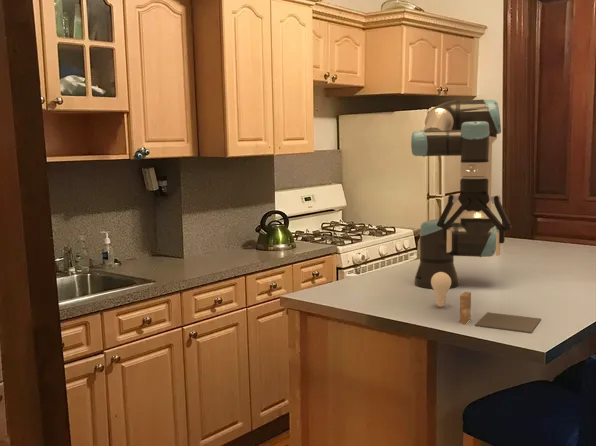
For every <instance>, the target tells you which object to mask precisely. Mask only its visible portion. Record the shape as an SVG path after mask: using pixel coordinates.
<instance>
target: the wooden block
mask: <svg viewBox="0 0 596 446" xmlns="http://www.w3.org/2000/svg"><path fill="white" fill-rule="evenodd" d="M459 297H460V298H459V300H460V301H459V324H460V323H462V324H461V325H467V324H466V323H467V322H468V321H469V320H470V321H471V317H472V314H471V313H472V309H471V308H472V304H471V303H472V292H470V291H464V293H462V294H460V296H459ZM470 321H469V322H470ZM469 322H468V323H469Z"/></svg>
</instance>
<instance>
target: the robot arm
mask: <svg viewBox="0 0 596 446" xmlns="http://www.w3.org/2000/svg"><path fill="white" fill-rule="evenodd" d="M500 116H501V115H500V108H499V103H498V101H496V100H494V99H484V98H483V99H469V100H467V99H465V100H449V101H446V102H443V103H440V104H438V105H436V106H435V107H433V108H431V109H430V111H429V112H427V114H426V116H425V119H424V128H423V129H420V130H416V131H413V132H412V133H411V139H410V140H411V141H410V143H411V144H410V146H411V155H413V156H415V157H423V158H424V157H446V156H449V157H457V156H458V157H459V156H460V170H459V171H460V177H462V178H460V180H459V183H460V184H459V185H460V186H459V189H460V190H459V195H456V194H449V195H448V199H447V204H446V206H445V207H444V209H443V211H442V213H441V215H440V217H439V218H435V219H429V220H425V221H424V222H422V223H421V224H420V229H419V230H420V231H419V237H420V238H419V248H420V249H419V265H418V268H417V270H416V274H415V277H414V285H416V286H418V287H421V288H424V289H432V290H434V289H433V287H432V285H431V279H432V277H433V275H434V274H436V273H438V272H444V273H446V274H448V275H449V277H450V278H451V286H450V288H449V289H452V288H456V287H458V286H459V277H458V273H457V270H456V267H455V264H454V257H473V258H474V257H476V258H477V257H478V258H483V257H489V258H490V257H492V256H494V255H495V256H499V255H501V244H505V240H506V239H505V238H506V237H505V235H506V233H505V232H506V231H509V230H511V229H512V228H513V226H512V223H511V221H510V219H509V217H508V215H507V214H506V210H504V208H503V205H502V203H501V196H500V194H497V195H492V168H493V167H492V163H493V162H492V160H493V159H492V158H493V157H492V156H493V143H495V141H496V140H497V137H498V135H499V134H501V133H502V126H501V125H502V124H501V117H500ZM457 201H458V202H459V203H460V204H461V205H460V206H459V207H458V208H457V210H456V211H455V212H454V214H452V216H451V217H450V218H449V217H448V216H449V213H450V212H451V211H452V208H453V206H454V204H455V203H457ZM492 204H494V207H495V209H496V211H497V213H498V215H499V217H500V219H501V221H502V222H501V221H500V220H499V219H498V217H497V216H496V215H495V214H494V213H493V212H492V209H491V208H492ZM462 214H463V215H462ZM460 216H461V217H460ZM459 217H460V222H455V221H456V220H457V219H458V218H459Z"/></svg>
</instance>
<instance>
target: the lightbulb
mask: <svg viewBox="0 0 596 446" xmlns="http://www.w3.org/2000/svg"><path fill="white" fill-rule="evenodd" d="M431 285H432V287H433V289H432V290H433V291H434V294H435V299H436V306H438V308H443V307H444V306H446V299H447V294H448V292H449V290H450V289H451V288H450V286H451V278H450V277H449V275H448V274H446V273H444V272H438V273H436V274H434V275H433V277H432V279H431Z"/></svg>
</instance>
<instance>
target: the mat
mask: <svg viewBox="0 0 596 446" xmlns="http://www.w3.org/2000/svg"><path fill="white" fill-rule="evenodd" d="M541 321H542V318H539V317H532V316H531V317H530V316H522V315H513V314H503V313H497V312H490V311H489V312H486V313H485V314H484V315H483V316H482V317H481V318H480V319H479V320H478V321H477V322H476V323H474V326H475V327H479V326H480V328H488V329H496V330H504V331H510V332H511V331H513V332H518V333H519V332H520V333H527V334H532V333H533V332H534V330H535V329H536V328H537V326H538V324H540V322H541Z"/></svg>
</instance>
